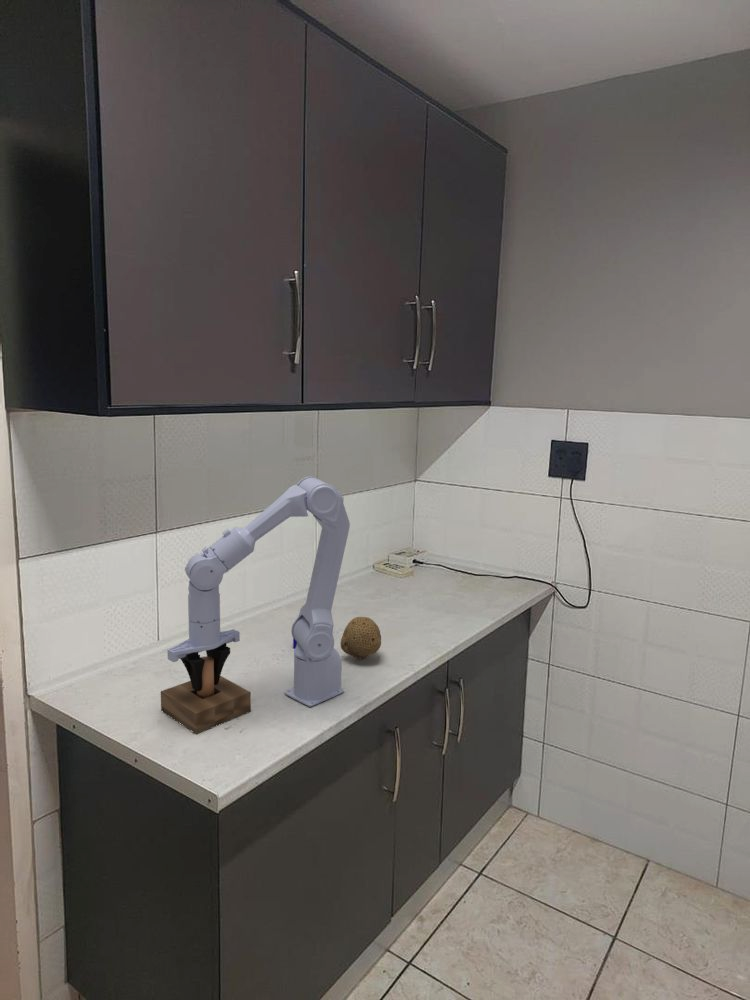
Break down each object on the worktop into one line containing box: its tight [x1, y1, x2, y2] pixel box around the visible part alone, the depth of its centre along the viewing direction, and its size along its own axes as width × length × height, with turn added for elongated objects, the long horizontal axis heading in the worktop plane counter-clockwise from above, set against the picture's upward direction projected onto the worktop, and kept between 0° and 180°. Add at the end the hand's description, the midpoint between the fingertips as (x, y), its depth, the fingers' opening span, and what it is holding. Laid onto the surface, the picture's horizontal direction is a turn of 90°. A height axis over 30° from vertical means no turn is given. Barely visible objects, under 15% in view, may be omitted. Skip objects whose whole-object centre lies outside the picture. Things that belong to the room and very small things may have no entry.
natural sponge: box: [340, 616, 382, 660], centre depth 156 cm, size 9×9×10 cm
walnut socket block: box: [160, 675, 252, 735], centre depth 130 cm, size 12×12×4 cm
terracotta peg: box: [197, 655, 214, 698], centre depth 130 cm, size 3×3×7 cm
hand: (205, 685), depth 130 cm, fingers closed on terracotta peg, 3 cm apart
